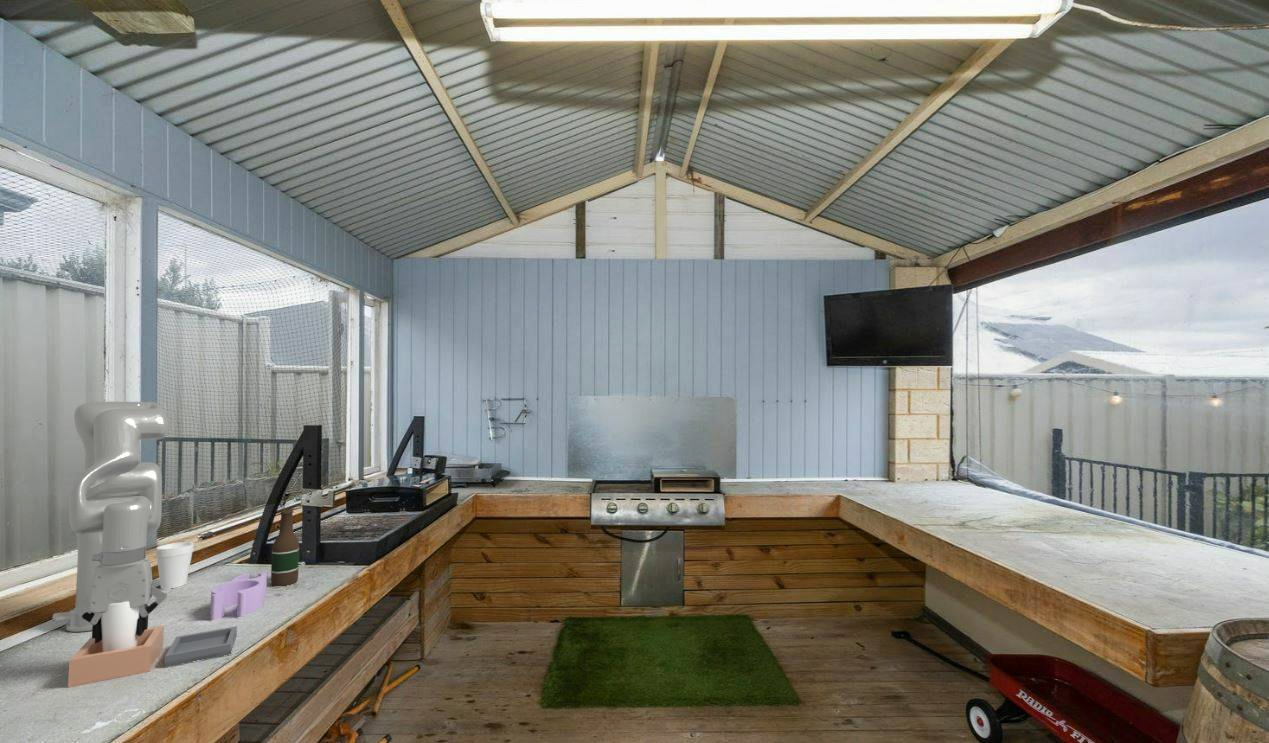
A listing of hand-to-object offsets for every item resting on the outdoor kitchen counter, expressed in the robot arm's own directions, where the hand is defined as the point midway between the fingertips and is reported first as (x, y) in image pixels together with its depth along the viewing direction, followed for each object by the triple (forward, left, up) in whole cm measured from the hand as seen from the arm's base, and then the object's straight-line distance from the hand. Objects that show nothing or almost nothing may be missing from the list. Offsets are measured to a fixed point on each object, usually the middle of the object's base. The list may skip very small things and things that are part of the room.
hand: (120, 636), depth 124 cm
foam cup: (-1, +64, -7) cm, 64 cm away
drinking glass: (0, 0, -7) cm, 7 cm away
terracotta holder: (0, 0, -7) cm, 7 cm away
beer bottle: (+30, +48, -7) cm, 57 cm away
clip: (+20, +31, -7) cm, 37 cm away
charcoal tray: (+15, 0, -7) cm, 16 cm away
